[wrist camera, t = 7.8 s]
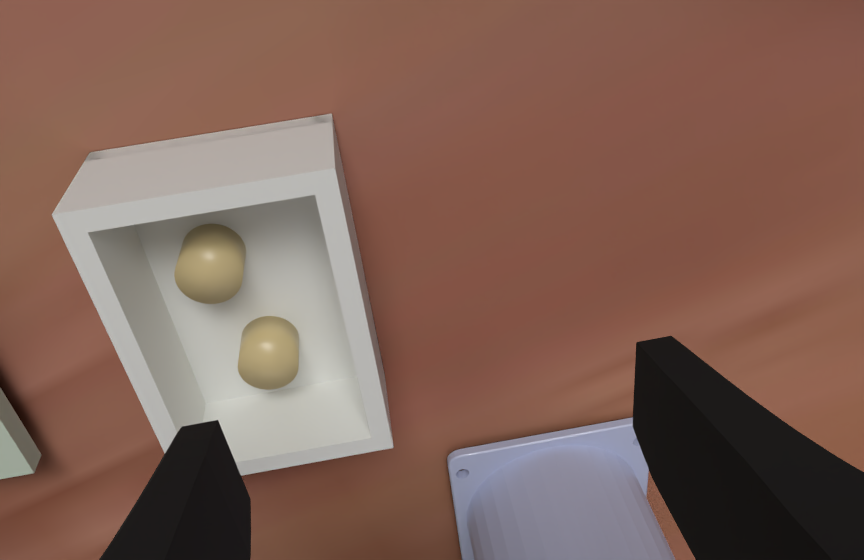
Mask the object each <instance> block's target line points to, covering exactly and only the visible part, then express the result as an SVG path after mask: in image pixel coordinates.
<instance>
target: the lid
mask: <svg viewBox="0 0 864 560" xmlns="http://www.w3.org/2000/svg"><path fill="white" fill-rule="evenodd" d="M41 455H42V454H41V453H40V451H39V450H38V448H37V446H36V445H35V443H34V441H33V440H32V438H31V437H30V435H29V433H28V432H27V430H26V428H25V427H24V425H23V424H22V422H21V420H20V419H19V417H18V415H17V414H16V412H15V411H14V409H13V407H12V406H11V404H10V402H9V401H8V399H7V398H6V396H5V394H4V393H3V391H2V389H1V388H0V479H5V478H10V477H16V476H21V475H27V474H32V473H34V472H35V470H36V467H37V465H38V462H39V460H40V457H41Z"/></svg>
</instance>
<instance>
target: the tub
mask: <svg viewBox="0 0 864 560" xmlns="http://www.w3.org/2000/svg"><path fill="white" fill-rule="evenodd" d="M52 216H53V218H54V221H55V223H56V225H57V227H58V229H59V231H60V233H61V235H62V237H63V240H64V242H65V244H66V246H67V248H68V250H69V252H70V254H71V256H72V259H73V261H74V263H75V265H76V267H77V269H78V271H79V273H80V275H81V278H82V280H83V282H84V284H85V286H86V288H87V290H88V292H89V294H90V297H91V299H92V301H93V303H94V305H95V307H96V309H97V311H98V313H99V316H100V318H101V320H102V322H103V324H104V326H105V328H106V330H107V333H108V335H109V337H110V339H111V341H112V343H113V345H114V347H115V349H116V352H117V354H118V356H119V358H120V360H121V362H122V364H123V366H124V368H125V371H126V373H127V375H128V377H129V379H130V381H131V383H132V385H133V387H134V390H135V392H136V394H137V396H138V398H139V400H140V402H141V404H142V406H143V409H144V411H145V413H146V415H147V417H148V419H149V421H150V423H151V426H152V428H153V430H154V432H155V434H156V436H157V438H158V440H159V442H160V445H161V447H162V449H163V451H164V453H166V451H167V449H168V448H169V446H170V444H171V442H172V441H173V439H174V437H175V436H176V434H177V432H178V431H179V430H180V428H181V427H182V426H188V425H193V424H199V423H204V422H209V421H215V420H218V421H219V424H220V426H221V428H222V431H223V433H224V436H225V438H226V441H227V443H228V446H229V448H230V450H231V453H232V455H233V458H234V460H235V463H236V465H237V468H238V470H239V472H240V475H241V476H242V475H247V474H253V473H258V472H264V471H269V470H275V469H280V468H286V467H291V466H297V465H302V464H308V463H313V462H319V461H324V460H329V459H335V458H340V457H346V456H351V455H357V454H362V453H368V452H373V451H379V450H384V449H390V448H394V447H393V439H392V430H391V422H390V414H389V406H388V398H387V390H386V382H385V374H384V369H383V364H382V359H381V354H380V349H379V344H378V339H377V334H376V329H375V324H374V319H373V314H372V309H371V304H370V299H369V295H368V290H367V285H366V280H365V275H364V270H363V265H362V260H361V255H360V250H359V245H358V240H357V235H356V230H355V225H354V221H353V216H352V211H351V206H350V201H349V196H348V191H347V186H346V181H345V176H344V171H343V166H342V161H341V156H340V151H339V147H338V142H337V137H336V132H335V127H334V122H333V117H332V114H326V115H320V116H314V117H308V118H302V119H295V120H289V121H283V122H277V123H270V124H264V125H258V126H252V127H245V128H239V129H233V130H227V131H221V132H214V133H208V134H202V135H196V136H189V137H183V138H177V139H171V140H164V141H158V142H152V143H146V144H139V145H133V146H127V147H121V148H115V149H108V150H102V151H96V152H90V153H89V155H88V156H87V158H86V160H85V161H84V163H83V164H82V166H81V168H80V169H79V171H78V173H77V174H76V176H75V177H74V179H73V181H72V182H71V184H70V186H69V187H68V189H67V191H66V192H65V194H64V195H63V197H62V199H61V200H60V202H59V204H58V205H57V207H56V208H55V210H54V212H53V213H52Z"/></svg>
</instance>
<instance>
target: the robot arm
mask: <svg viewBox="0 0 864 560" xmlns="http://www.w3.org/2000/svg"><path fill="white" fill-rule="evenodd" d="M447 463H448V470H449V477H450V483H451V490H452V496H453V503H454V510H455V516H456V523H457V530H458V536H459V543H460V550H461V556H462V560H675V558H674V556H673V554H672V551H671V549H670V547H669V545H668V543H667V541H666V539H665V537H664V534H663V532H662V530H661V528H660V526H659V524H658V522H657V520H656V517H655V515H654V513H653V511H652V509H651V507H650V505H649V503H648V500H647V498H646V496H647V484H648V472H649V471H650V473H651V476H652V478H653V480H654V482H655V484H656V486H657V488H658V490H659V492H660V494H661V496H662V498H663V499H664V501H665V503H666V505H667V507H668V509H669V511H670V513H671V514H672V516H673V518H674V520H675V522H676V524H677V526H678V527H679V529H680V531H681V533H682V535H683V537H684V539H685V540H686V542H687V544H688V546H689V548H690V550H691V551H692V553H693V555H694V557H695V559H696V560H864V472H862V471H860V470H859V469H857V468H855V467H853V466H852V465H850V464H848V463H847V462H845V461H843V460H842V459H840V458H838V457H837V456H835V455H834V454H832V453H830V452H829V451H827V450H826V449H824V448H823V447H821V446H820V445H818V444H816V443H815V442H813V441H812V440H810V439H809V438H807V437H806V436H804V435H803V434H801V433H800V432H798V431H797V430H795V429H794V428H792V427H791V426H789V425H788V424H787V423H785V422H784V421H782V420H781V419H779V418H778V417H777V416H775V415H774V414H773V413H771V412H770V411H768V410H767V409H766V408H764V407H763V406H762V405H760V404H759V403H757V402H756V401H755V400H753V399H752V398H751V397H749V396H748V395H747V394H745V393H744V392H743V391H741V390H740V389H739V388H737V387H736V386H735V385H733V384H732V383H731V382H730V381H728V380H727V379H726V378H724V377H723V376H722V375H721V374H719V373H718V372H717V371H715V370H714V369H713V368H712V367H710V366H709V365H708V364H706V363H705V362H704V361H703V360H701V359H700V358H699V357H698V356H696V355H695V354H694V353H693V352H691V351H690V350H689V349H688V348H686V347H685V346H684V345H682V344H681V343H680V342H679V341H677V340H676V339H675V338H673V337H672V336H668V337H662V338H657V339H652V340H646V341H641V342H637V343H636V364H635V385H634V405H633V417H632V418H626V419H621V420H615V421H610V422H605V423H599V424H594V425H588V426H583V427H577V428H572V429H567V430H561V431H556V432H550V433H545V434H539V435H534V436H528V437H523V438H518V439H512V440H507V441H501V442H496V443H490V444H485V445H479V446H474V447H469V448H463V449H458V450H455V451H453V452H452V453H450V454H449V456H448V458H447ZM461 469H465V470H462V471H459V470H461ZM250 555H251V505H250V497H249V494H248V492H247V490H246V487H245V485H244V482H243V480H242V477H241V475H240V472H239V470H238V468H237V465H236V463H235V460H234V458H233V455H232V453H231V450H230V448H229V446H228V443H227V441H226V438H225V436H224V433H223V431H222V428H221V426H220V424H219V421H218V420H215V421H209V422H204V423H199V424H193V425H188V426H182V427H181V428H180V430H179V431H178V432H177V434H176V436H175V437H174V439H173V441H172V442H171V444H170V446H169V448H168V449H167V451H166V453H165V455H164V456H163V458H162V460H161V462H160V463H159V465H158V467H157V468H156V470H155V472H154V474H153V475H152V477H151V479H150V480H149V482H148V484H147V485H146V487H145V489H144V490H143V492H142V494H141V495H140V497H139V499H138V500H137V502H136V504H135V505H134V507H133V508H132V510H131V511H130V513H129V515H128V516H127V518H126V519H125V521H124V523H123V524H122V526H121V527H120V529H119V531H118V532H117V534H116V535H115V537H114V538H113V540H112V542H111V543H110V545H109V546H108V548H107V549H106V551H105V552H104V553H103V555H102V556H101V558H100V559H99V560H250Z"/></svg>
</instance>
